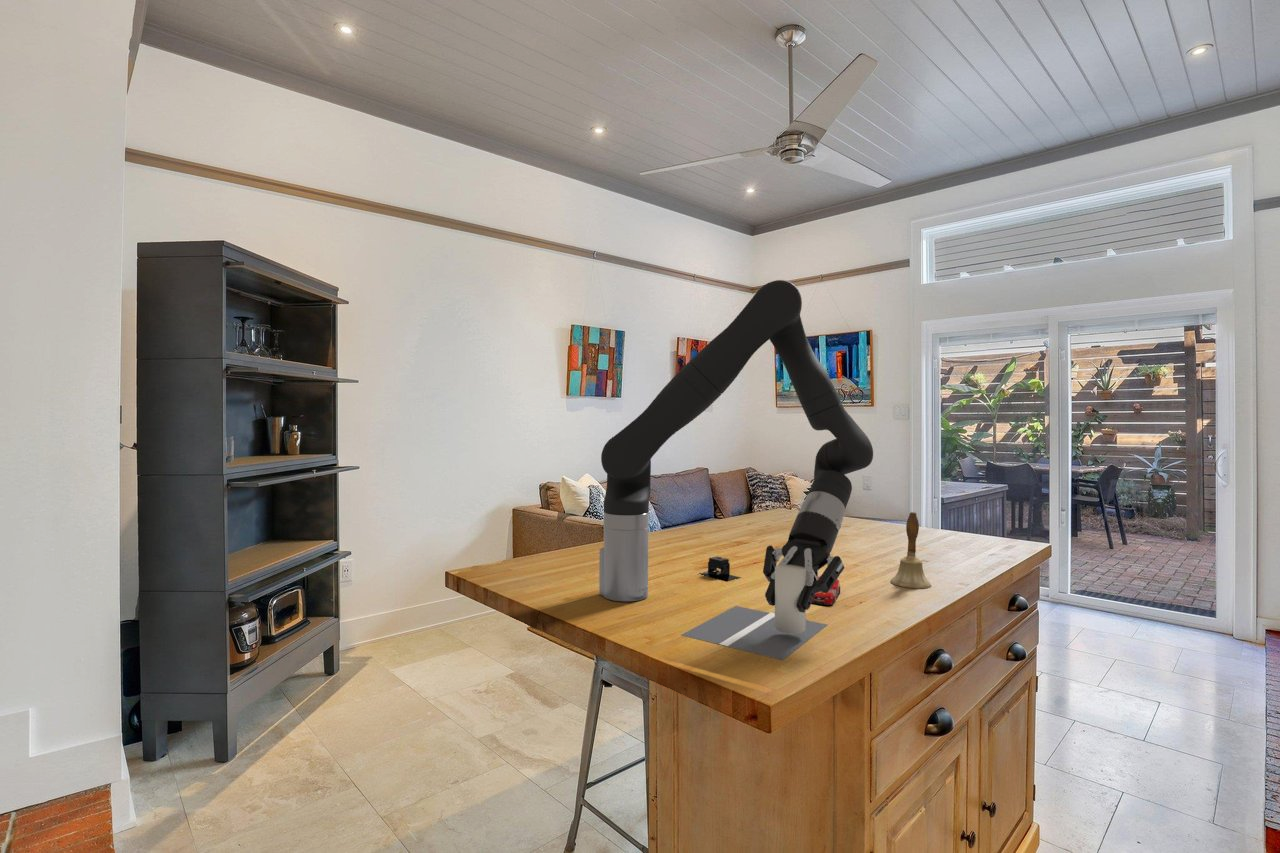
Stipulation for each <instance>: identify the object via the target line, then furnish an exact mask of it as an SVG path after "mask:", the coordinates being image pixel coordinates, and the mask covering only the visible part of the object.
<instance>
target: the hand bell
mask: <svg viewBox="0 0 1280 853" xmlns="http://www.w3.org/2000/svg"><path fill="white" fill-rule="evenodd" d="M905 526H906V528H905V531H906V536H907V540H908V541H907V542H908V543H907V552H906V556H904V557H902V558H900V560H899V566H898V571H897V572H896V574H895V575H894V576H893V577H892V578H891V579H890V583H892V584H893V585H894V586H895V585H896V586H898V587H902V588H908V589H909V588H910V589H918V590H919V589H920V588H923V589H929V588H931V587H932V583H931V582H930V581H929V580H928V578H927V577H926V575H925V573H924V569H923V561H922V560H921V559H920V558H918V557H917V556H916V552H917V550H916V549H917V548H916V547H917V546H916V544H917V538H918V535H919V531H920V530H919V529H920V523H919V520H918V516H917V512H914V511H913V512H912V511H911V512H909V516H908V518H907V520H906V525H905Z"/></svg>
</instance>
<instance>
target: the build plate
mask: <svg viewBox="0 0 1280 853" xmlns="http://www.w3.org/2000/svg"><path fill="white" fill-rule="evenodd" d="M729 561H730V559H729V558H726V557H721V556H718V555H717V556H712V557H709V558H708V562H707V570H706V571H707V572H706V571H703V573H701V572H698V573H699V574H701V575H700V576H702V575H704V576H703V577H706V576H707V578H711V579H714V578H715V580H718V581H722V582H727V583H728V582H732V581H735V579H736V580H739V579H742V576H741V577H740V576H737V575H732V574H731V573H730V572H731V571H730V570H731V568H730V567H731V566H730V565H731V563H730V562H729ZM699 574H698V575H699Z"/></svg>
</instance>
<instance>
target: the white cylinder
mask: <svg viewBox="0 0 1280 853" xmlns="http://www.w3.org/2000/svg"><path fill="white" fill-rule="evenodd" d="M804 586H806V568H805V567H802V566H798V565H778V564H777V565H776V567H775V605H774V613H775V629H776V630H778V631H780V632H784V633H791V634H797V633H802V632H804V631H805V630H806V620H807V615H806V614H807V610H805V612H804V613H803V612H799V610H798V608H797V601H798V599H799V596H800V594H801V591H802V590H803V588H804Z"/></svg>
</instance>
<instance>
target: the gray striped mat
mask: <svg viewBox="0 0 1280 853" xmlns="http://www.w3.org/2000/svg"><path fill="white" fill-rule="evenodd" d="M828 626H829V624H828V623H822V622H818V621H817V622H816V621H812V620H807V619H806V630H805V631H804V632H802V633H797V634H791V633H784V632H780V631H778V630H776V629H775V612H767V611H763V610H757V609H752V608H748V607H744V606H743V607H742V606H737V605H735V606H733V607H731V608H729V609H727V610H725V611H723V612H722V613H720V614H717V615H716V616H714V617H712V618H710V619H709V620H706V621H704V622H702V623H700V624H699V625H697V626H695V627H693V628H691V629H689V630H687V631H685V632H684V633H682V634H681V636H682V637H686V638H687V637H688V638H691V639H695V640H700V641H703V642H707V643H712V644H715V645H717V646H718V645H719V646H724V647H727V648H731V649H735V650H740V651H743V652H747V653H751V654H756V655H760V656H764V657H768V658H770V659H771V658H772V659H776V660H779V661H785V659H786V658H788V657H790V655H792V654H793V653H795V651H797V650H798V649H799V648H801V647H802V646H803V645H804V644H806V643H807V642H808V641H809V640H811V639H812V638H814V637H815V636H816V635H817V634H819V633H820V632H821V631H823V629H825V628H826V627H828Z"/></svg>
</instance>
